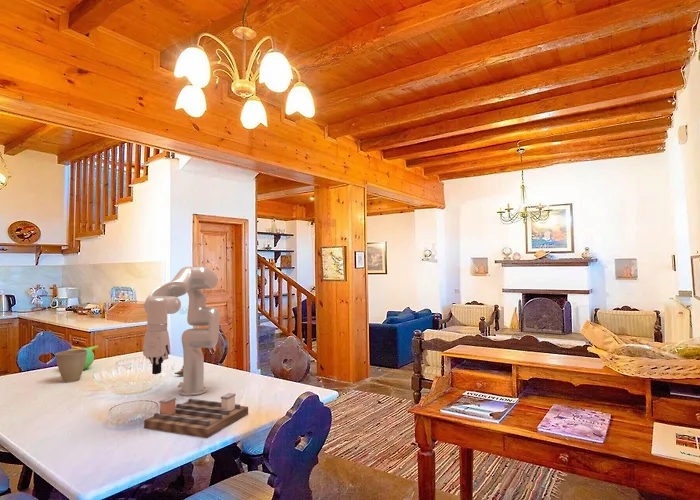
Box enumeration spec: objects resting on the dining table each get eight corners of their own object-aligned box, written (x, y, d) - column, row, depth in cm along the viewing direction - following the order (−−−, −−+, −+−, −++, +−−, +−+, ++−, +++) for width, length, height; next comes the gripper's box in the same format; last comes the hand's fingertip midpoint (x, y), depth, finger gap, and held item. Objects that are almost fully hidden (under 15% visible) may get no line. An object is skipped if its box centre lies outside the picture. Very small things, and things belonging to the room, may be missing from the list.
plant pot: (80, 375, 243) (80, 348, 243) (91, 379, 234) (92, 351, 235) (50, 381, 230) (51, 352, 231) (61, 385, 222) (61, 355, 222)
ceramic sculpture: (199, 361, 238) (173, 363, 238) (200, 376, 238) (174, 378, 237) (205, 357, 249) (180, 359, 248) (206, 372, 248) (181, 374, 248)
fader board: (143, 427, 161) (144, 415, 161) (190, 406, 185) (190, 396, 186) (207, 437, 151) (207, 424, 151) (248, 413, 175) (248, 402, 175)
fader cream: (220, 411, 168) (220, 396, 169) (228, 407, 174) (228, 392, 174) (227, 412, 167) (227, 397, 168) (235, 408, 172) (235, 393, 173)
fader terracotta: (159, 416, 164) (159, 400, 164) (169, 411, 169) (169, 396, 169) (166, 417, 163) (166, 401, 163) (176, 412, 168) (176, 397, 168)
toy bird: (54, 372, 251) (54, 348, 252) (76, 366, 268) (77, 343, 269) (80, 373, 248) (80, 348, 249) (101, 366, 265) (101, 343, 266)
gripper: (135, 328, 169) (135, 374, 168) (164, 330, 164) (164, 377, 163) (150, 326, 176) (149, 370, 175) (178, 327, 171) (178, 372, 170)
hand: (156, 373), depth 169 cm, fingers closed
